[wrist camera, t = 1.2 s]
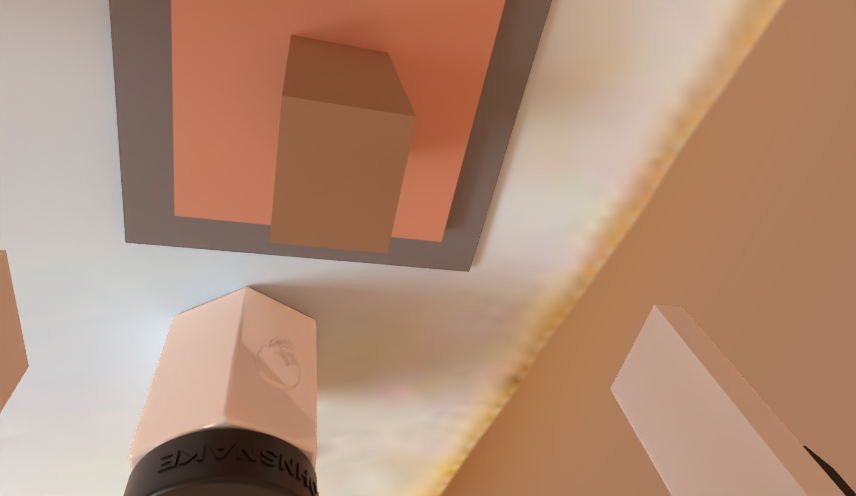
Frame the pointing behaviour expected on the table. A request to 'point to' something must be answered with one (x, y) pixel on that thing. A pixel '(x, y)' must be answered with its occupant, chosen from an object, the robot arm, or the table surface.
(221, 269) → the table surface
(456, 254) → the mat
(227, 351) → the jar
